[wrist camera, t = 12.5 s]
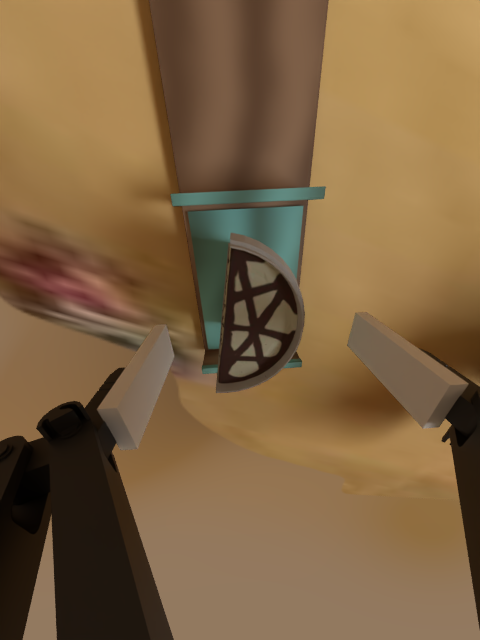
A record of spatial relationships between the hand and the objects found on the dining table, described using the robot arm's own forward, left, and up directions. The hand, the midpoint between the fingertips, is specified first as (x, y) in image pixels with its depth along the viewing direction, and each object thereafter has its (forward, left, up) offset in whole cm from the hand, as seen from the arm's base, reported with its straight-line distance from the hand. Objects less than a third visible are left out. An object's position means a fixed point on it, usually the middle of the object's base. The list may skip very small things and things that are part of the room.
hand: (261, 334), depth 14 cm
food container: (0, 0, -10) cm, 10 cm away
